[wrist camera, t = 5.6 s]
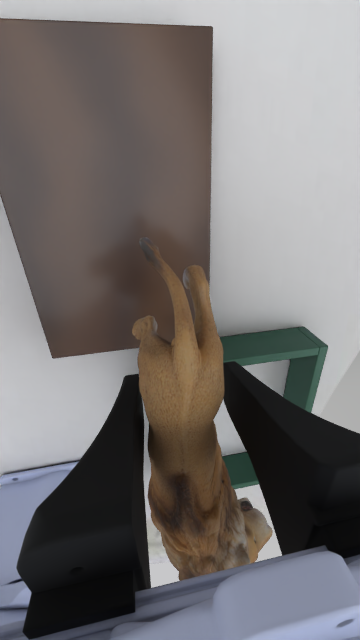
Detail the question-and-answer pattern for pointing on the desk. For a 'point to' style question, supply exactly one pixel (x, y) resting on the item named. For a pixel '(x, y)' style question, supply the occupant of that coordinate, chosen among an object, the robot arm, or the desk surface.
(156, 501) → the lion figurine
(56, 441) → the desk surface
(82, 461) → the robot arm
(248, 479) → the storage box
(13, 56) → the stand
